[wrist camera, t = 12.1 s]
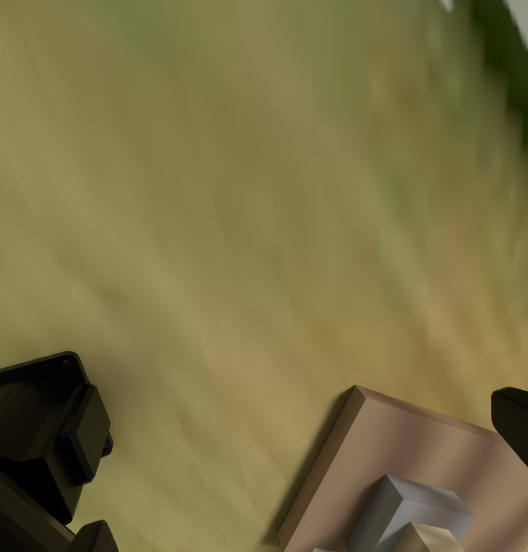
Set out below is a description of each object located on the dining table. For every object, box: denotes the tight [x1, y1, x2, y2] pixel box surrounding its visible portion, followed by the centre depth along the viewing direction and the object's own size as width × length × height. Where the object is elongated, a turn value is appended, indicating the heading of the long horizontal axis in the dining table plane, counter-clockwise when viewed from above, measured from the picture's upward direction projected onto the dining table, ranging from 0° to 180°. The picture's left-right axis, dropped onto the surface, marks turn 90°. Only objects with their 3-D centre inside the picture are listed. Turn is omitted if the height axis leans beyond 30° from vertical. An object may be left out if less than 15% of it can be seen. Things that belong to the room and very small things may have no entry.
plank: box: [277, 385, 528, 552], centre depth 27 cm, size 20×12×2 cm, turn 65°
